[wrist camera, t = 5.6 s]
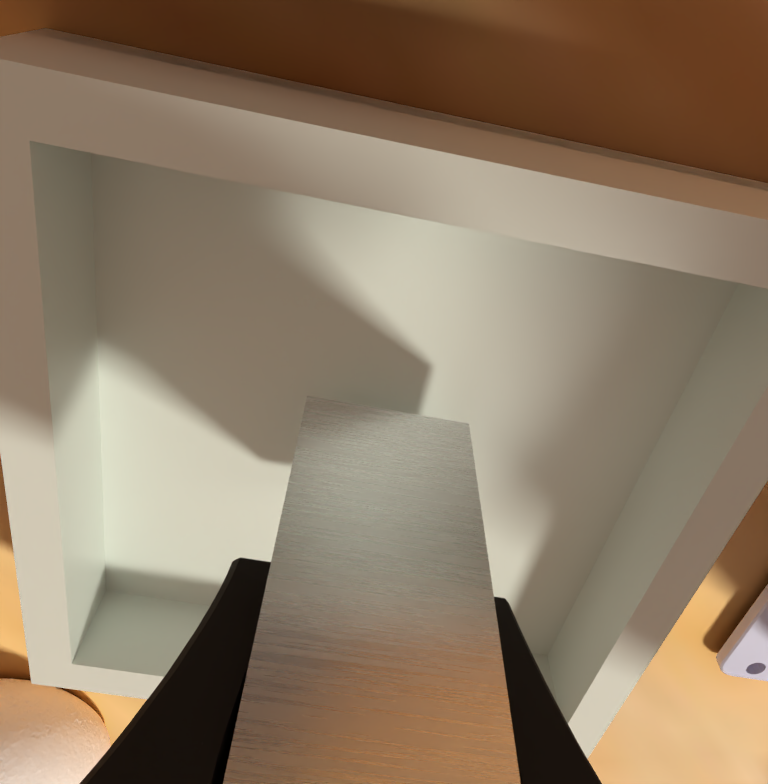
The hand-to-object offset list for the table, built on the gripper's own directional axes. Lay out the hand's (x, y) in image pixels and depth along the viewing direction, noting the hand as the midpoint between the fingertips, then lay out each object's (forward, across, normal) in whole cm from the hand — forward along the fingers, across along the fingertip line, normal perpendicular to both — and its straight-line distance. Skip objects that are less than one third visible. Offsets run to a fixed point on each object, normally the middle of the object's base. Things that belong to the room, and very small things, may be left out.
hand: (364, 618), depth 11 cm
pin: (+3, 0, 0) cm, 4 cm away
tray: (+5, 0, 0) cm, 5 cm away
